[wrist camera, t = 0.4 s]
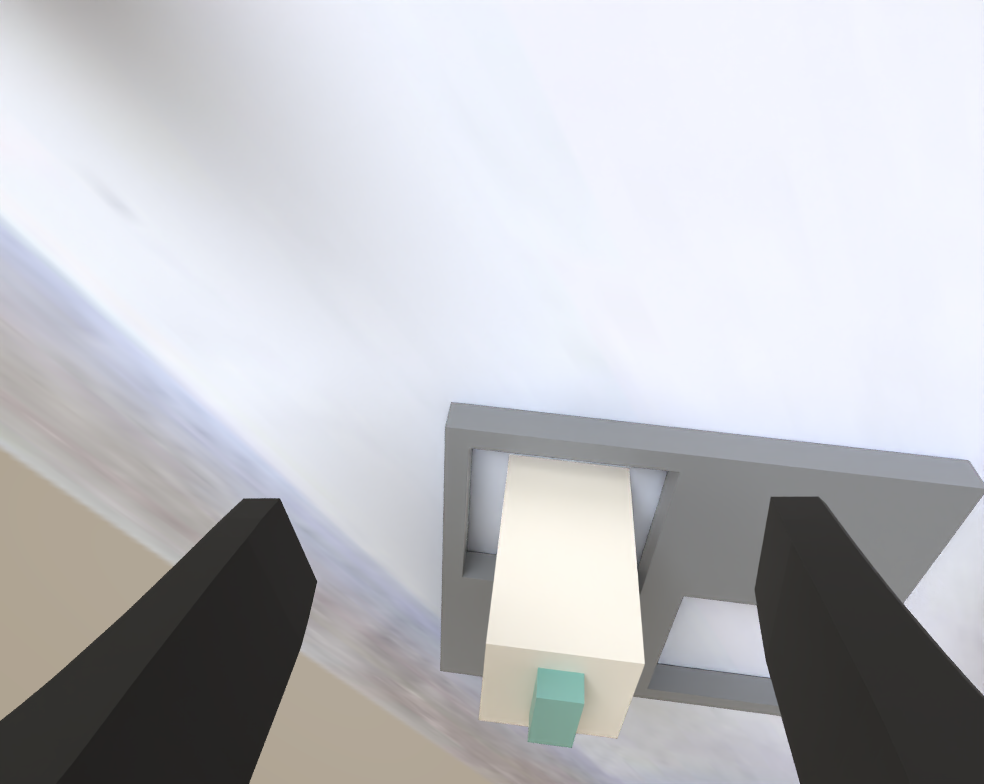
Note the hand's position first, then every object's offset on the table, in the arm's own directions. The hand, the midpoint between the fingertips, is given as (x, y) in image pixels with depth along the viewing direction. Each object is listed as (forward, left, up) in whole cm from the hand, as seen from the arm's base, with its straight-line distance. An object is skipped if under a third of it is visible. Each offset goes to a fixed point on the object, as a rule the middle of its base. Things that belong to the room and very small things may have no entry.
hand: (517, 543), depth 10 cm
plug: (-2, +9, -10) cm, 14 cm away
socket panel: (-6, +12, -10) cm, 17 cm away
